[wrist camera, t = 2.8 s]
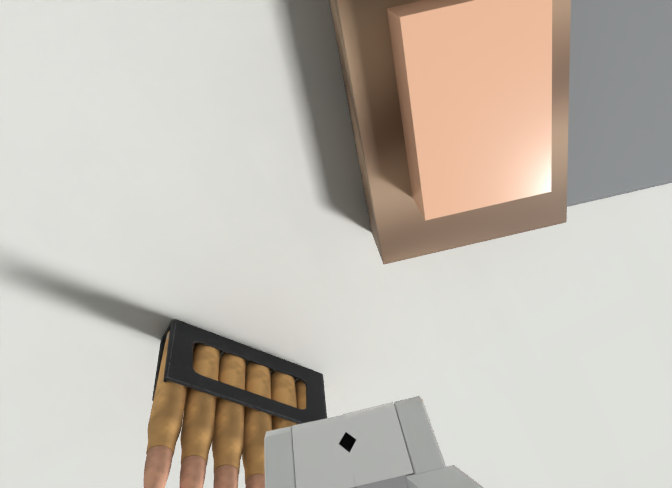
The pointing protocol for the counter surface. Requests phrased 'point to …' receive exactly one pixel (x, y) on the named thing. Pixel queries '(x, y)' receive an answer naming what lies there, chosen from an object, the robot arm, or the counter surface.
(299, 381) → the ammunition clip
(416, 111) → the tile
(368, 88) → the deck
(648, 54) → the mat
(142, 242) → the counter surface
